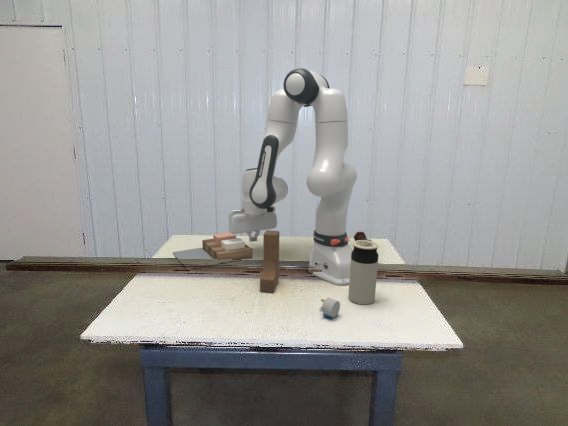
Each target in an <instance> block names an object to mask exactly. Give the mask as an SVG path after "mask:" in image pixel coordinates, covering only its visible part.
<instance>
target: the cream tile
mask: <svg viewBox="0 0 568 426" xmlns="http://www.w3.org/2000/svg"><path fill="white" fill-rule="evenodd" d="M236 238H237V237H236ZM245 244H246V241H245V240H243V239H242V238H241V237H238V238H237V239H230V240H223V241H221V247H222V248H223V249H225V250H226V251H227V250H233V249H239V248H245Z"/></svg>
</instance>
